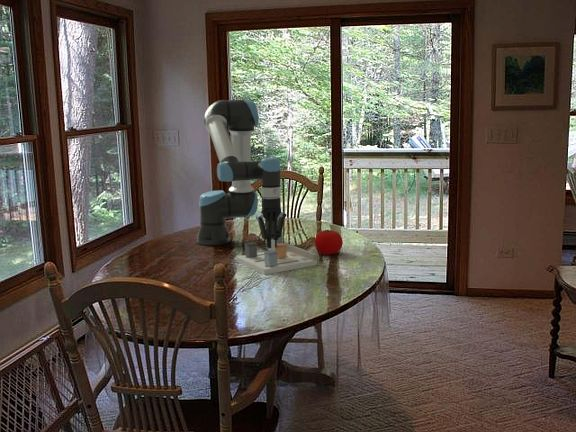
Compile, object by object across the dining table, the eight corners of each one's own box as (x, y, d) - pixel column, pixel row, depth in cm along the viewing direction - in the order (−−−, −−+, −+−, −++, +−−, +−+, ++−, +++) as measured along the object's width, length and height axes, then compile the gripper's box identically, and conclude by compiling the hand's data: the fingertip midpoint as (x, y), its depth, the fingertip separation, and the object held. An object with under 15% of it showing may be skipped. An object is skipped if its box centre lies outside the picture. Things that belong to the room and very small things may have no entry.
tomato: (324, 249, 262) (324, 225, 260) (347, 252, 256) (347, 229, 254) (309, 255, 253) (309, 230, 251) (332, 259, 246) (333, 234, 244)
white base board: (236, 261, 244) (235, 250, 243) (286, 252, 257) (286, 242, 256) (264, 274, 225) (264, 263, 224) (316, 265, 238) (316, 254, 237)
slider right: (264, 264, 231) (264, 251, 230) (272, 262, 233) (272, 249, 232) (269, 266, 228) (269, 253, 226) (277, 265, 229) (277, 251, 228)
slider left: (244, 255, 244) (244, 243, 243) (252, 254, 246) (252, 241, 245) (249, 257, 241) (248, 245, 240) (257, 256, 243) (257, 243, 242)
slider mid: (273, 256, 242) (273, 244, 241) (281, 255, 244) (281, 242, 243) (278, 258, 239) (278, 245, 238) (286, 257, 241) (286, 244, 240)
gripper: (261, 200, 228) (262, 260, 233) (290, 197, 235) (290, 255, 239) (251, 197, 234) (253, 255, 239) (280, 194, 241) (280, 251, 246)
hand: (271, 255), depth 239 cm, fingers closed
